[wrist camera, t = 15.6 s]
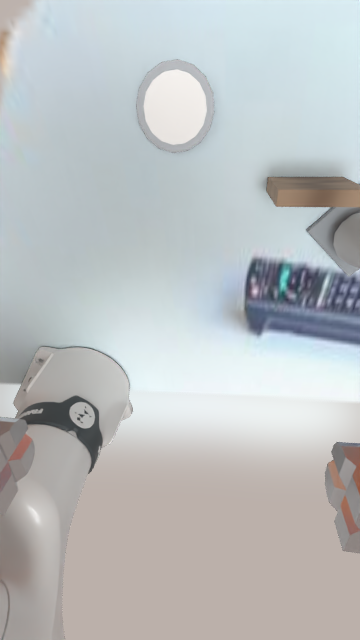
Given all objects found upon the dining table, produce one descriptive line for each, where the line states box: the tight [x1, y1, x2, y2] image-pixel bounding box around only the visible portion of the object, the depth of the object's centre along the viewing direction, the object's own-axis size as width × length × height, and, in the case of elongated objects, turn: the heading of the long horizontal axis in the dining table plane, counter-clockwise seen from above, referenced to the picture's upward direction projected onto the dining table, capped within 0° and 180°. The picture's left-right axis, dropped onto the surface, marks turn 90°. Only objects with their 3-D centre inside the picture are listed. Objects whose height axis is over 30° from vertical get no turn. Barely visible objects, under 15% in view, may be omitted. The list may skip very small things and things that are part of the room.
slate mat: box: [307, 184, 360, 276], centre depth 39 cm, size 8×8×1 cm
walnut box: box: [267, 177, 360, 207], centre depth 34 cm, size 8×2×8 cm, turn 91°
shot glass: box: [136, 59, 214, 153], centre depth 32 cm, size 7×7×7 cm
